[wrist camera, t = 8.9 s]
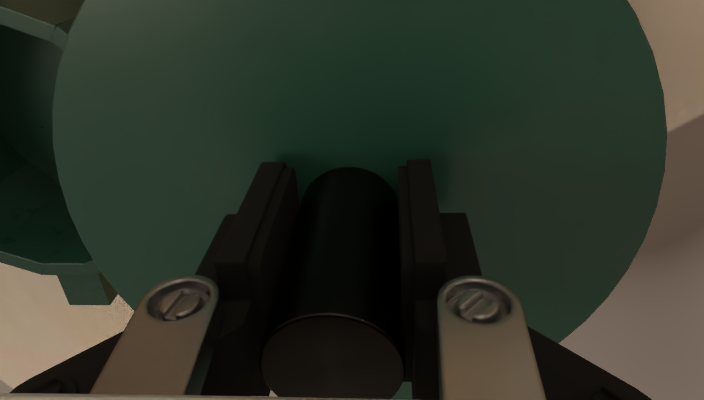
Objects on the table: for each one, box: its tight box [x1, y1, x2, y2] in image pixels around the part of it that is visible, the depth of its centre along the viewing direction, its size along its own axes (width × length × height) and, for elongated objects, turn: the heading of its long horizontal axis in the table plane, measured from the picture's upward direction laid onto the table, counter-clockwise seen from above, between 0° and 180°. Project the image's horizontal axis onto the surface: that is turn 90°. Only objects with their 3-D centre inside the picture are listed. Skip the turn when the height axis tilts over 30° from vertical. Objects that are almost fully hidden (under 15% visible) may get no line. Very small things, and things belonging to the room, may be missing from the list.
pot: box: [0, 0, 118, 305], centre depth 26 cm, size 14×19×7 cm
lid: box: [52, 0, 667, 400], centre depth 11 cm, size 15×15×6 cm
